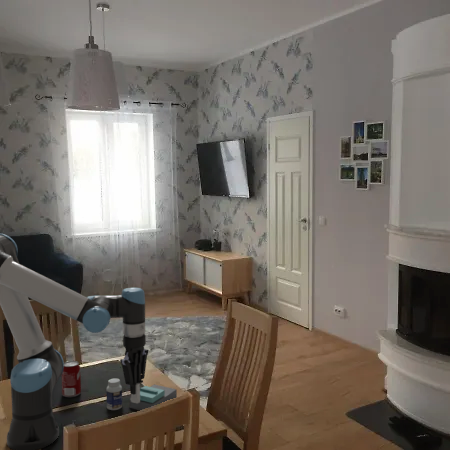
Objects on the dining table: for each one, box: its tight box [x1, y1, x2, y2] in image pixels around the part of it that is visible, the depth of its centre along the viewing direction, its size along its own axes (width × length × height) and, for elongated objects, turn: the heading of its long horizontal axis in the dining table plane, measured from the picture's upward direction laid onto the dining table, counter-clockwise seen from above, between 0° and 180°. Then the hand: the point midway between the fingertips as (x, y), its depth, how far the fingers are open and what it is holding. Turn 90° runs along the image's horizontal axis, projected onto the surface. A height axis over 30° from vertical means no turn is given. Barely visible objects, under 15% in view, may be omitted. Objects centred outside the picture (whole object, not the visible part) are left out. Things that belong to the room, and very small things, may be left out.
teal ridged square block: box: [140, 385, 165, 403], centre depth 181 cm, size 8×8×3 cm
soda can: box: [61, 360, 82, 398], centre depth 190 cm, size 7×7×12 cm
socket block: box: [128, 384, 178, 411], centre depth 184 cm, size 15×10×3 cm, turn 153°
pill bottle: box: [105, 378, 123, 411], centre depth 180 cm, size 5×5×10 cm
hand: (135, 401), depth 174 cm, fingers closed
